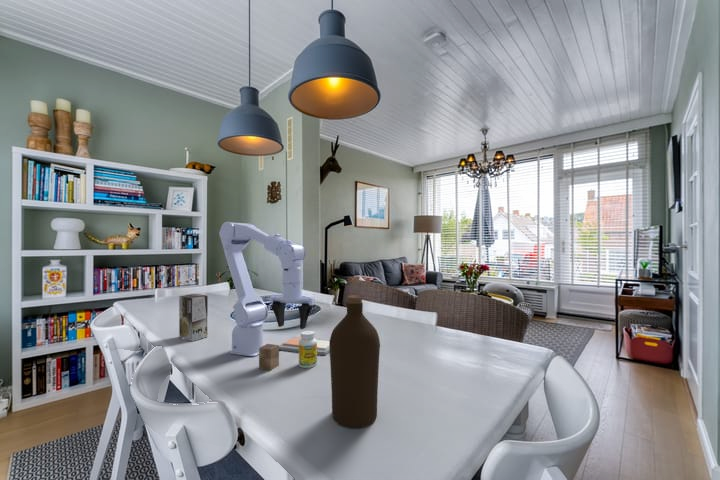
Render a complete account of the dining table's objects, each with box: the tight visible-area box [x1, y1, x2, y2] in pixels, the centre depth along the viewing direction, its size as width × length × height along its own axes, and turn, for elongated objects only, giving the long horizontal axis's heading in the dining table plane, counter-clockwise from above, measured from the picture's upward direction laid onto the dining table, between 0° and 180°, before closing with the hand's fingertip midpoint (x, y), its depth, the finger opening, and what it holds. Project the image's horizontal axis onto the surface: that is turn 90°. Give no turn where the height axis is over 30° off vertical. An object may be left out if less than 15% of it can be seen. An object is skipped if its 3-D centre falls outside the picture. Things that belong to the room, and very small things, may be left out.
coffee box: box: [178, 293, 209, 342], centre depth 117 cm, size 9×6×16 cm
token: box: [258, 343, 280, 372], centre depth 90 cm, size 4×4×6 cm
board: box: [278, 336, 330, 356], centre depth 107 cm, size 18×11×2 cm, turn 72°
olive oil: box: [329, 294, 381, 429], centre depth 65 cm, size 11×11×25 cm
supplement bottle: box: [298, 330, 318, 369], centre depth 91 cm, size 5×5×10 cm
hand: (291, 327), depth 94 cm, fingers open, 7 cm apart
